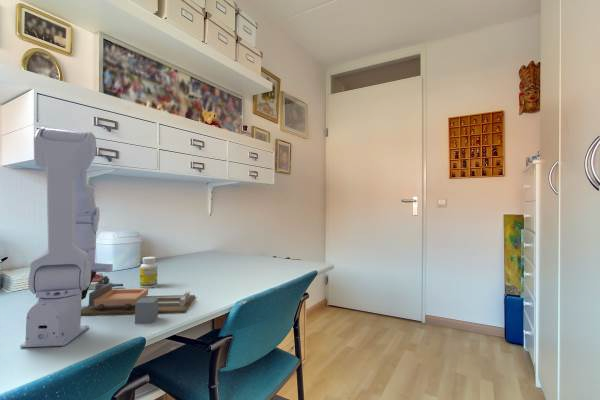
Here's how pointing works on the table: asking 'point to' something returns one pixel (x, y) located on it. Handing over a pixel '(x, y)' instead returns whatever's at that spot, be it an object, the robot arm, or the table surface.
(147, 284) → the supplement bottle
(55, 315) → the robot arm
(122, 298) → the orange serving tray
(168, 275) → the table surface
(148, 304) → the block
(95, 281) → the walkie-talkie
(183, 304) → the track
